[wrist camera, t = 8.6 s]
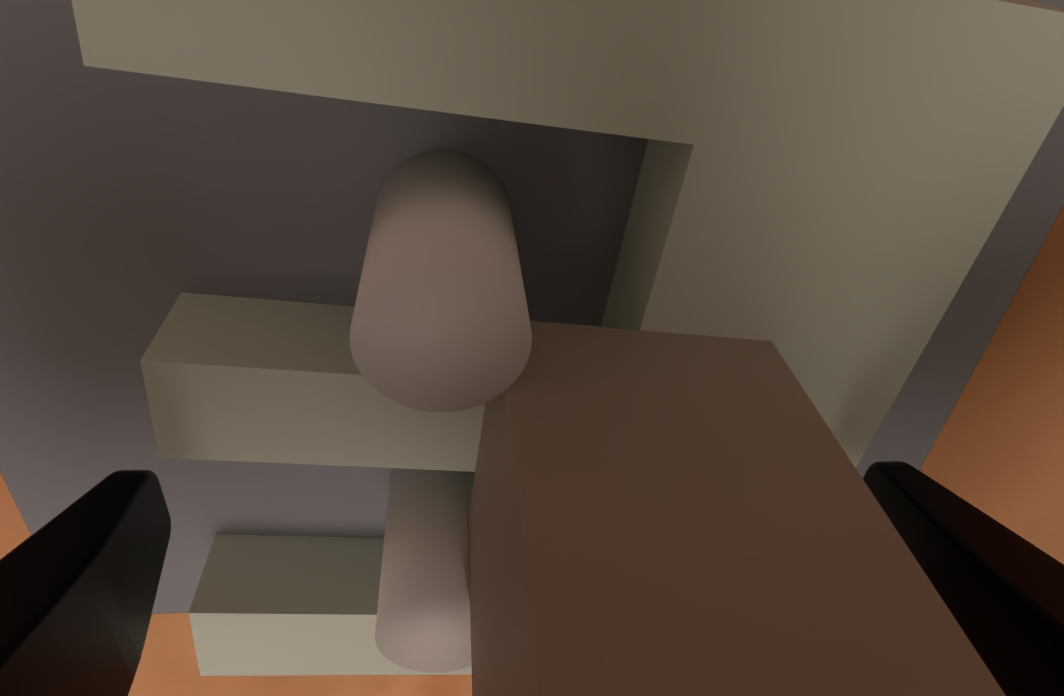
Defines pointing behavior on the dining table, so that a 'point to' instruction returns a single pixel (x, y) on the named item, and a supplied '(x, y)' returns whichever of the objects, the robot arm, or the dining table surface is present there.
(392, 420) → the two-prong bracket
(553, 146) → the slate board
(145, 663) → the dining table surface
